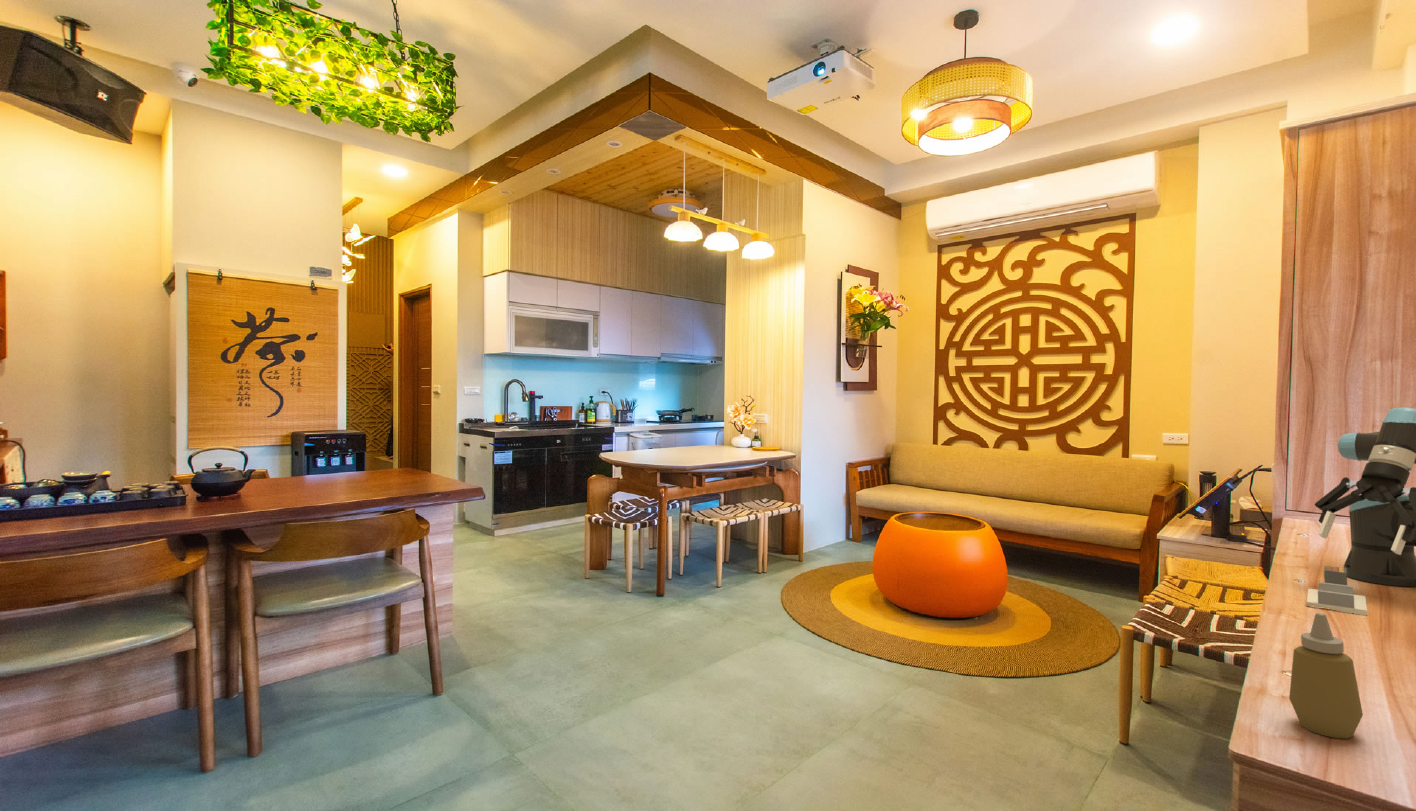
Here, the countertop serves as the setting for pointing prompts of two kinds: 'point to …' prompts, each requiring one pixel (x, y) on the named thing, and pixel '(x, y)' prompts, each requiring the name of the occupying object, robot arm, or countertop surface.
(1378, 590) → the countertop surface
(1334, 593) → the board
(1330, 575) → the plug
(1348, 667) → the squeeze bottle
